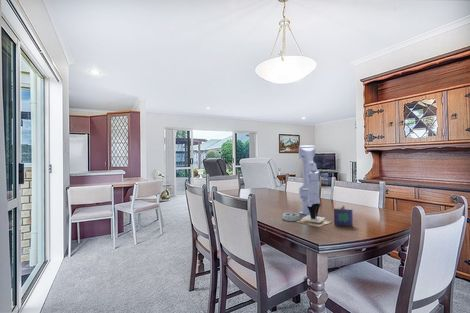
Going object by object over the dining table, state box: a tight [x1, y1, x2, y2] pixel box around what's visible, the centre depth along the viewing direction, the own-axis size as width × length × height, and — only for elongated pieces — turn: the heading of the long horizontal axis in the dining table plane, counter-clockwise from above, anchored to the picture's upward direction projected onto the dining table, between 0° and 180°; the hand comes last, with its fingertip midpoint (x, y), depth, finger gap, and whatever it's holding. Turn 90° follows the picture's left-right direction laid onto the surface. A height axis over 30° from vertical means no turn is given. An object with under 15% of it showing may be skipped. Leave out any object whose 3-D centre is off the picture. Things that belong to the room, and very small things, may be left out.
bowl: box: [282, 212, 300, 222], centre depth 149 cm, size 9×9×3 cm
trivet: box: [295, 219, 333, 228], centre depth 141 cm, size 14×14×1 cm
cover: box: [301, 215, 326, 223], centre depth 141 cm, size 10×10×4 cm
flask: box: [333, 205, 354, 227], centre depth 134 cm, size 9×3×11 cm, turn 74°
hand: (314, 217), depth 141 cm, fingers closed on cover, 3 cm apart
